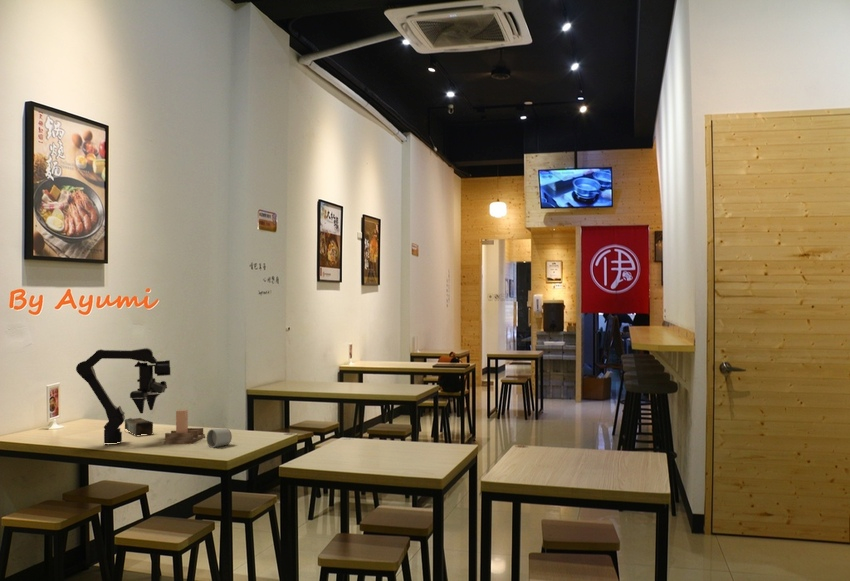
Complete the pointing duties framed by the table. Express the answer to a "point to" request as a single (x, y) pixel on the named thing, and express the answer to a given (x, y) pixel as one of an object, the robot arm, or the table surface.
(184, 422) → the clay slab
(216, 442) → the grey cup
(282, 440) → the table surface
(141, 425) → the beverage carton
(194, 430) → the slotted wooden tray
